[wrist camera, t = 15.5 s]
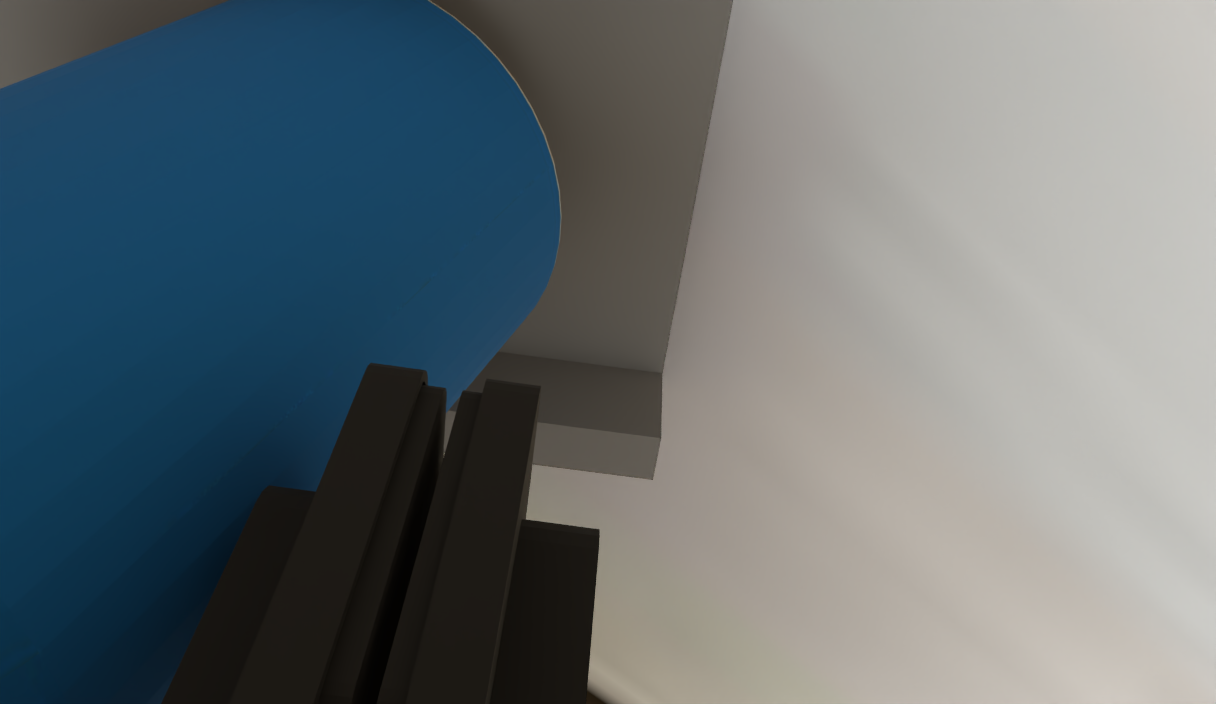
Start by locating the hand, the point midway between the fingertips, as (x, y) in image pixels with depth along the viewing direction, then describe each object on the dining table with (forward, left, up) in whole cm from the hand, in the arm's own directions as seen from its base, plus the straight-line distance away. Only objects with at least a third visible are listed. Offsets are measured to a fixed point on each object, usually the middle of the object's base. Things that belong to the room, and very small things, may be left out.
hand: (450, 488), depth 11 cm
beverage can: (-1, +2, -8) cm, 9 cm away
